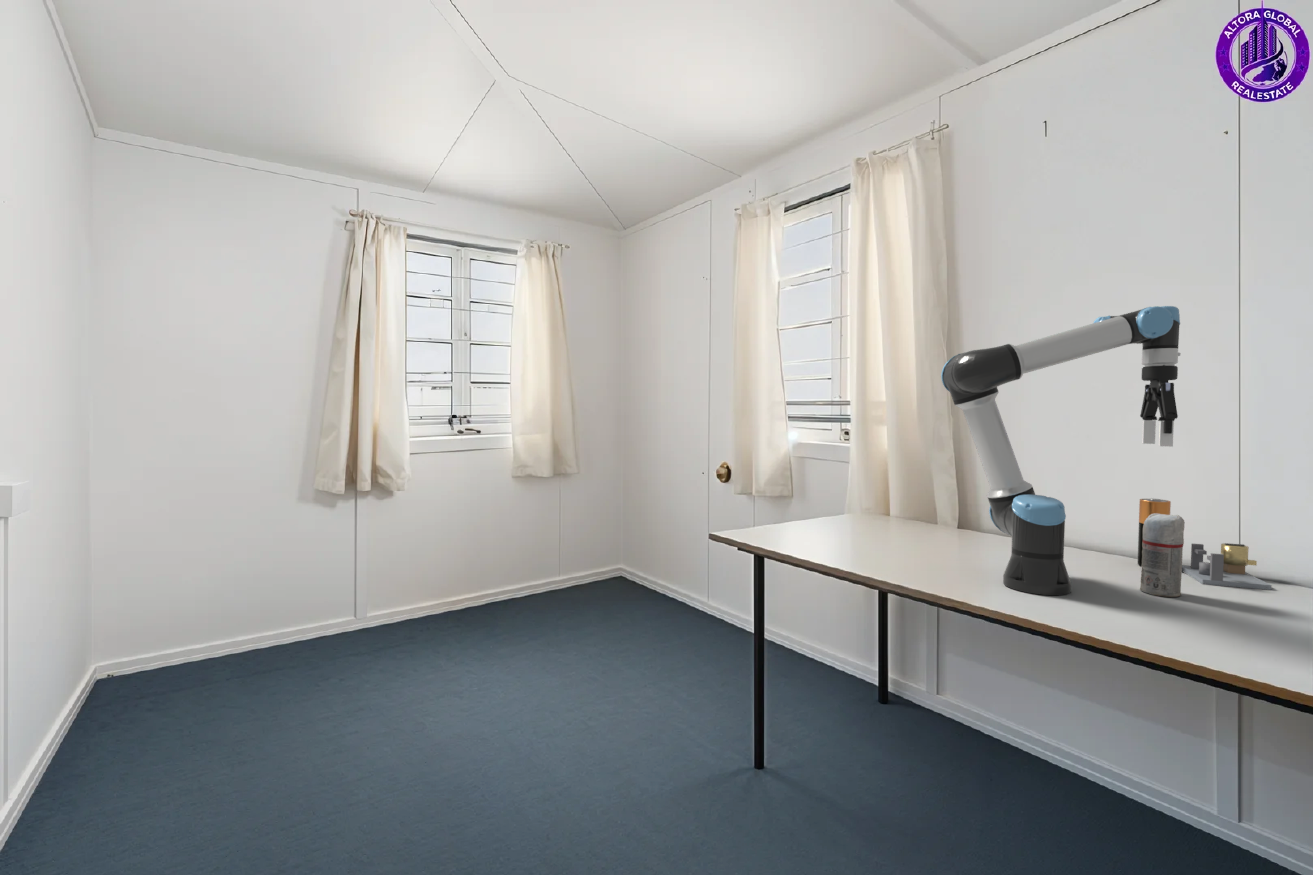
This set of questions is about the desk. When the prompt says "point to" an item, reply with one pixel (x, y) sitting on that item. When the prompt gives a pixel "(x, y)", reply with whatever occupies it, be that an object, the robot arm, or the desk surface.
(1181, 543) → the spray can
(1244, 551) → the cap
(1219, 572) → the base
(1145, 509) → the battery
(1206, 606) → the desk surface
